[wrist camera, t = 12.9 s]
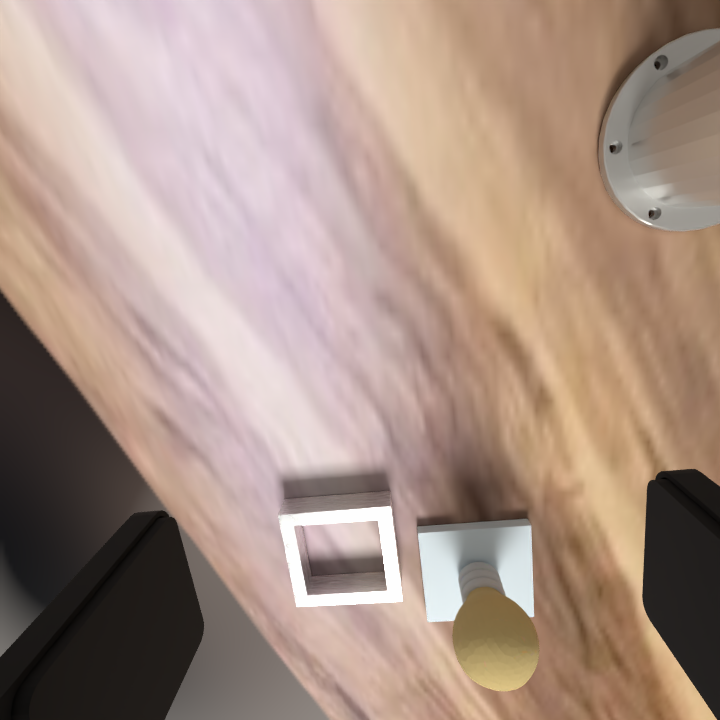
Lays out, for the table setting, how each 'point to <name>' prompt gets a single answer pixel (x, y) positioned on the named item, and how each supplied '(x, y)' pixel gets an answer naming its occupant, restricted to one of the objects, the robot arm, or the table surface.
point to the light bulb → (493, 632)
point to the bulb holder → (340, 585)
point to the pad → (475, 544)
